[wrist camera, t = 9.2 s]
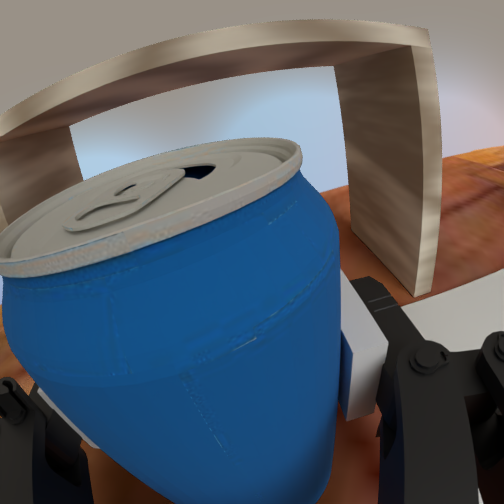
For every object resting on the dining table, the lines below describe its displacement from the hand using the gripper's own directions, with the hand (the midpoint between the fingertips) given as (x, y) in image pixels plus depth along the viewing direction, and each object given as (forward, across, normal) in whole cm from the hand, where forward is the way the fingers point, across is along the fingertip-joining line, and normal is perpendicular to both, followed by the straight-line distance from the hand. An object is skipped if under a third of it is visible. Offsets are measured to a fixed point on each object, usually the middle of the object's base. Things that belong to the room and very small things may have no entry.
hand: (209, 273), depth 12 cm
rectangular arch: (+10, 0, -8) cm, 12 cm away
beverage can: (-5, 0, -7) cm, 9 cm away
